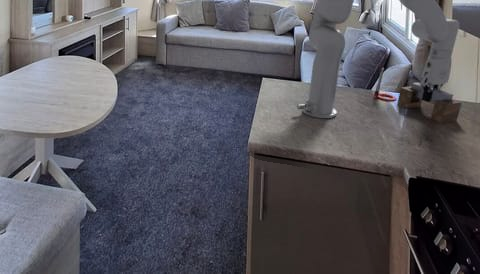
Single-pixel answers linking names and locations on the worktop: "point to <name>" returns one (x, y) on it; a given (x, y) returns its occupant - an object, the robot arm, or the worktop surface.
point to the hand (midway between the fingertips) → (428, 100)
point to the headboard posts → (441, 111)
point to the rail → (435, 94)
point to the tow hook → (378, 95)
